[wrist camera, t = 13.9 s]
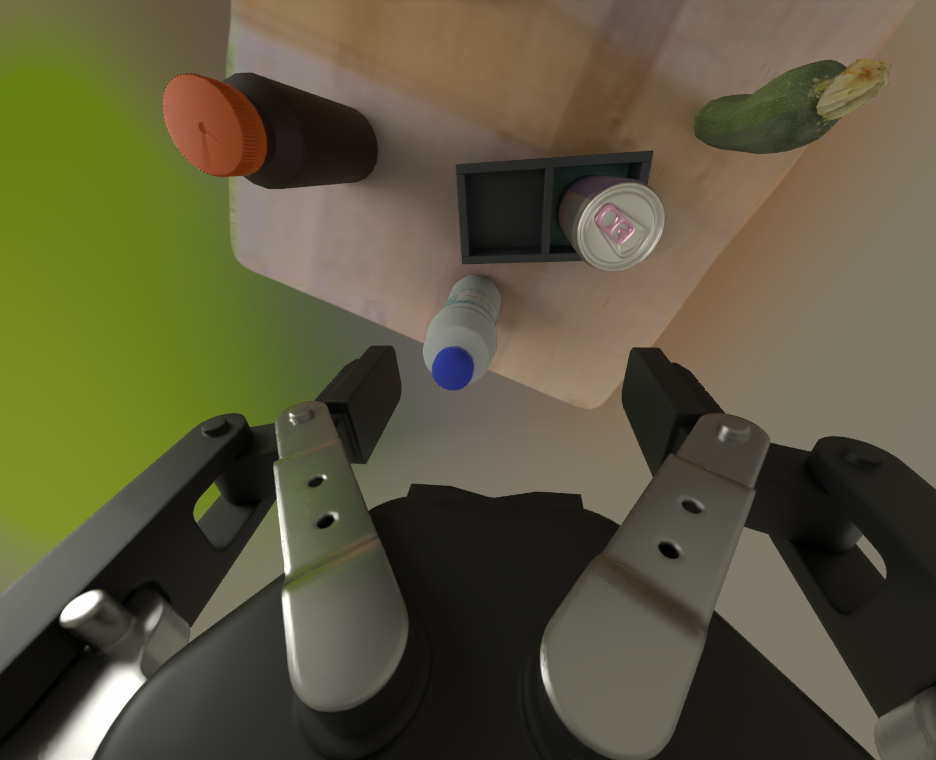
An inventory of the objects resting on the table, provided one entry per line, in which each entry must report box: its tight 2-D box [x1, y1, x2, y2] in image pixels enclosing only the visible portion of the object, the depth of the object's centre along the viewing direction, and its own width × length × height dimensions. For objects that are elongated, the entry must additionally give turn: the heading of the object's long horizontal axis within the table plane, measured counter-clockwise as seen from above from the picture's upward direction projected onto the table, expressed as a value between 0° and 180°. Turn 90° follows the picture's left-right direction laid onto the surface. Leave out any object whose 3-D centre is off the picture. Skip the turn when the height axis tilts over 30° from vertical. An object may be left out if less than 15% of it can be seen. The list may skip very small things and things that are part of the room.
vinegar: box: [163, 73, 378, 189], centre depth 28 cm, size 7×7×20 cm
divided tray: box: [456, 151, 653, 264], centre depth 35 cm, size 9×17×5 cm, turn 93°
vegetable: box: [692, 59, 891, 154], centre depth 24 cm, size 4×4×20 cm
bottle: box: [423, 274, 501, 390], centre depth 35 cm, size 7×7×20 cm
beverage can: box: [556, 175, 665, 271], centre depth 30 cm, size 6×6×15 cm
